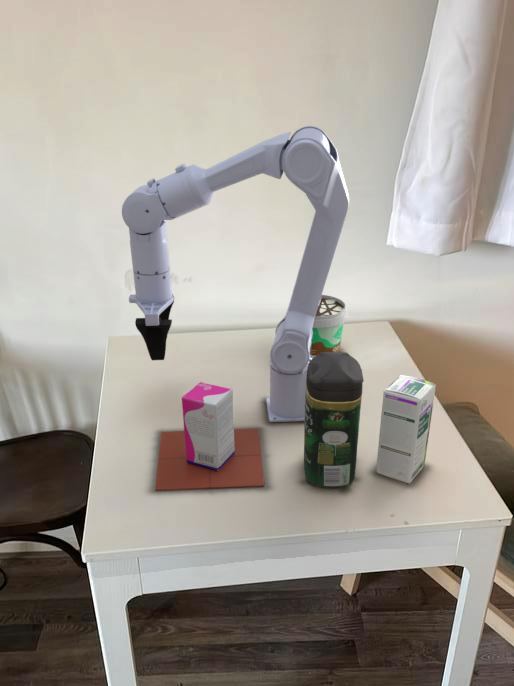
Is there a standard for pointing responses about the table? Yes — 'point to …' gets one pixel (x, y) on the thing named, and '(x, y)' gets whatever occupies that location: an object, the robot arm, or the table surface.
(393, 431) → the syrup box
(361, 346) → the table surface
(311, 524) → the table surface
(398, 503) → the table surface
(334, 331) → the food container
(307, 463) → the coffee jar
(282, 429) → the table surface
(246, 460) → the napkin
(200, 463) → the supplement box
